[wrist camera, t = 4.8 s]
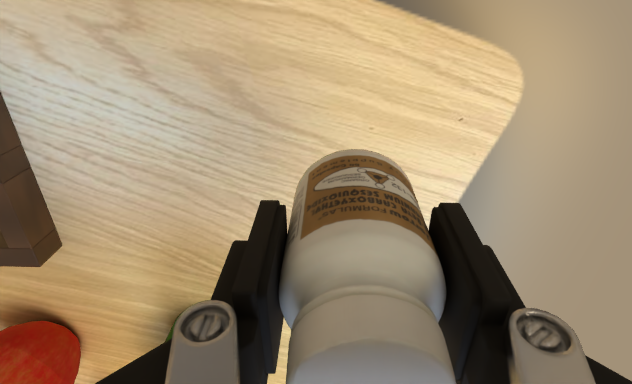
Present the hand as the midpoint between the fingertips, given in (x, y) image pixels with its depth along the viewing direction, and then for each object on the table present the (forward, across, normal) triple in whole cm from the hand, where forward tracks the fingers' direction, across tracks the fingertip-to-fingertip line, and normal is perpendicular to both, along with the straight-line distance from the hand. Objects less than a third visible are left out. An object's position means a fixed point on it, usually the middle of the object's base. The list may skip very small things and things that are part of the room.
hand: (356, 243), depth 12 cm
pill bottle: (+3, 0, 0) cm, 3 cm away
